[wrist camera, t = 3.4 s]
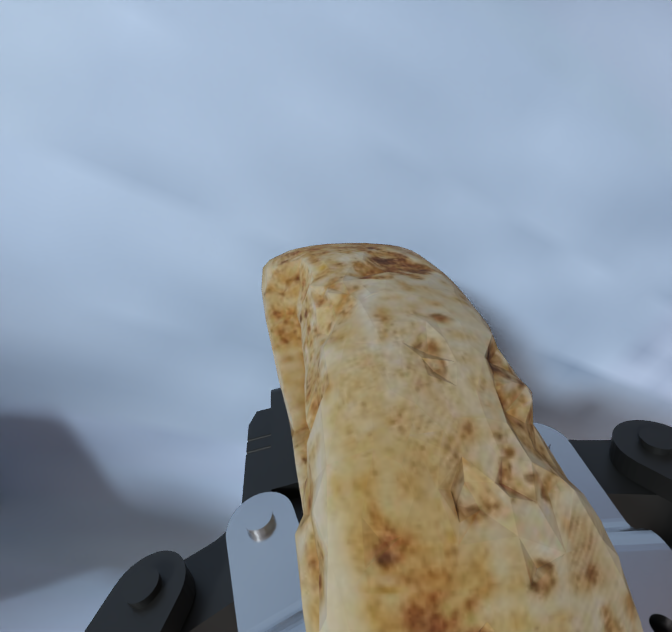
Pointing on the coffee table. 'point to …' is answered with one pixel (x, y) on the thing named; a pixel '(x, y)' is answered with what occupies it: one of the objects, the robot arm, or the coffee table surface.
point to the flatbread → (424, 460)
